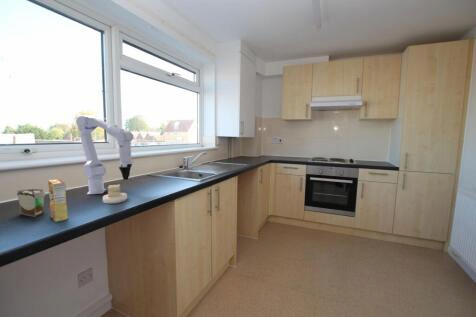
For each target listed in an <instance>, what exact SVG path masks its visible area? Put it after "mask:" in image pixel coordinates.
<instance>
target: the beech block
mask: <svg viewBox="0 0 476 317" xmlns="http://www.w3.org/2000/svg"><path fill="white" fill-rule="evenodd" d="M121 193H122V192H121V184H112V185H111V184H110V185H108V187H107V194H108V197H119V196H120V194H121Z"/></svg>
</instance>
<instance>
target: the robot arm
mask: <svg viewBox="0 0 476 317" xmlns="http://www.w3.org/2000/svg"><path fill="white" fill-rule="evenodd" d="M75 122H76V126H77V130H78V134H79V137H80V141H81V144H82V149H83V152H84V156H85V159H86V163H84V165H83V175H84V177H86V178H87V182H88V192H87V193H86V195H96V194H98V195H99V194H104V192H106V191H107V188H105V186H104V184H105V183H104V182H105V181H104V177H105V175H106V173H107V169H106V166H105V165H104V162H103V161H101V160H99V158H98V154H97V151H96V147H95V144H94V139H93V136H92V133H93V132H94V131H95V130H96V129H97V128H98V127H99V128H101V129H103V130H105V131H106V133H107V134H108V135H110V136H111V137H113V138H114V139H116V141H117V144H118V150H119V151H118V152H119V164H120V166H118V169H119V171H120V173H121V176H122V179H123V181H126V180H129V177H130V174H131V167H132V166H133V164H134V163H135V161H132V141H133V138H134V136H133V133H132V132H131V131H130V130H127V131H125V129H124V128H122V127H121V128H120V127H119V126H118V125H117V124H110V123H108V122H106V121H104V120H103V119H101V117H100V116H97V115H86V114H85V115H84V114H80V115H78V116H77V118H76V120H75Z"/></svg>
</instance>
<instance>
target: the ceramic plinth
mask: <svg viewBox="0 0 476 317" xmlns="http://www.w3.org/2000/svg"><path fill="white" fill-rule="evenodd" d="M120 193H121V194H120V196H119V197H108V193H107V194H105V195H103V196H102V202H103V203H104V204H110V205H111V204H120V203H123V202H126V201H128V194H127V193H126V192H120Z"/></svg>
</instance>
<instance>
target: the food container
mask: <svg viewBox="0 0 476 317" xmlns="http://www.w3.org/2000/svg"><path fill="white" fill-rule="evenodd" d="M46 194H47V193H46V191H45V190H44V189H43V188H28V189H20V190H17V192H16V196H17V198H18V203H19V204H18V205H19V210H20V215H24V216H29V217H34V218H36V217H39V216H42V215H43V214H44V208H45V206H44V204H45V203H44V202H45V198H44V197H45V196H46Z"/></svg>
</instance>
